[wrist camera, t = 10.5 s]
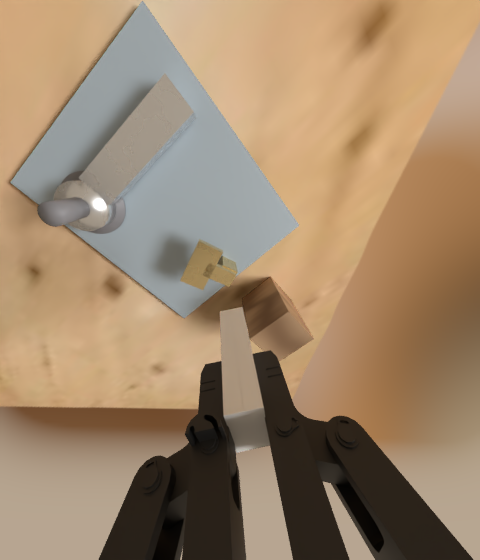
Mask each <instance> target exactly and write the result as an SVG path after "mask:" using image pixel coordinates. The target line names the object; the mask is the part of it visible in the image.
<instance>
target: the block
mask: <svg viewBox="0 0 480 560" xmlns="http://www.w3.org/2000/svg"><path fill="white" fill-rule="evenodd" d="M242 302H243V307H244V312H245V317H246V322H247V327H248V333H249V338H250V340H251V341H253V342H254V343H255V344H256V345H257V346H258V347H259V348H261V349H262V350H263V351H264V352H265V351H269V350H271V351H272V352H273V353H274V354H275V355H276V356H277V358H278V361H281V360H282V359H284V358H285V357H287V356H288V355H290V354H291V353H293V352H295V351H296V350H298V349H299V348H301V347H302V346H304V345H305V344H307V343H308V342H310V341H311V340H313V339H314V338H313V336H312V335H311V333H310V331H309V330H308V328H307V326H306V325H305V323H304V321H303V319H302V318H301V316H300V314H299V313H298V311H297V309H296V307H295V306H294V304H293V302H292V301H291V299H290V298H289V297H288V296H287V295H286V294H285V292H284V291H283V290H282V289H281V288H280V287H279V286H278V284H277V283H276V282H275V281H274V280H273V279H272V278H271V277H269V278H268V279H267V280H265V281H264V282H263V283H262V284H260V285H259V286H258V287H256V288H255V289H254V290H253V291H251V292H250V293H249V294H247V295H246V296H245V297H243V298H242Z"/></svg>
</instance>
